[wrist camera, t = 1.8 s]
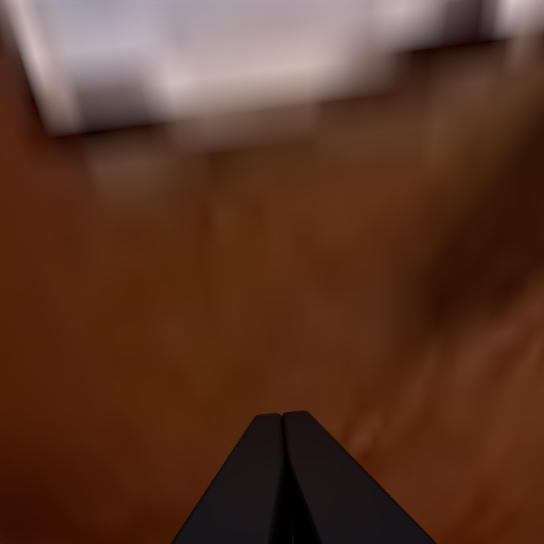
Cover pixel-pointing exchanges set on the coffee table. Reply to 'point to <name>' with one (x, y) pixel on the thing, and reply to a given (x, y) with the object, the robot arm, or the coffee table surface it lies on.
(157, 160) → the coffee table surface
